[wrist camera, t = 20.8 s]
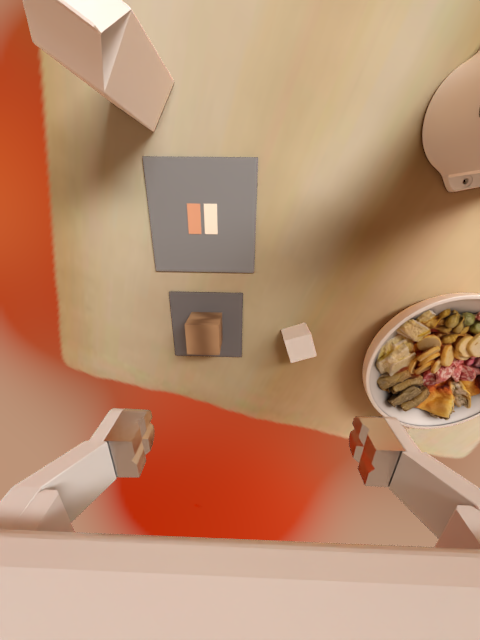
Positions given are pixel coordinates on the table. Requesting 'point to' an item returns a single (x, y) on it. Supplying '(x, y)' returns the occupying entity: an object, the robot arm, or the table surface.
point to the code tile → (202, 212)
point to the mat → (208, 302)
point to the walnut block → (204, 333)
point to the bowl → (427, 363)
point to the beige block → (298, 342)
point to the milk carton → (104, 52)
